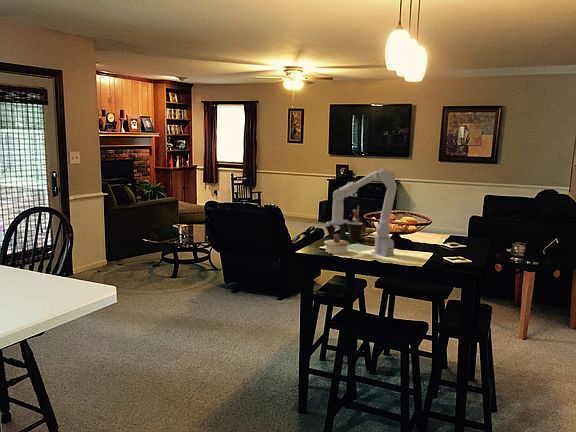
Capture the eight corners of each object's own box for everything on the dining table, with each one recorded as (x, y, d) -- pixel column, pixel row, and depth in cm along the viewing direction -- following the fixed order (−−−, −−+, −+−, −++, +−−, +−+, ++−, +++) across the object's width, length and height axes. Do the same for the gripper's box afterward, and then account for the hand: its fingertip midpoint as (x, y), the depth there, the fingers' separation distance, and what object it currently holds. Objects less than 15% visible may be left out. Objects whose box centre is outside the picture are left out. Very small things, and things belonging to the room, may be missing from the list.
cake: (366, 235, 306) (368, 206, 303) (352, 235, 305) (353, 206, 302) (361, 232, 317) (363, 204, 314) (347, 232, 315) (348, 204, 313)
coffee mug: (357, 242, 285) (358, 225, 283) (344, 240, 290) (345, 223, 289) (367, 239, 294) (368, 222, 293) (354, 237, 299) (355, 221, 298)
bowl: (351, 252, 257) (351, 244, 256) (335, 255, 250) (336, 246, 250) (336, 248, 266) (337, 240, 265) (321, 251, 259) (321, 243, 258)
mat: (377, 248, 268) (377, 248, 268) (358, 252, 259) (358, 251, 259) (357, 243, 280) (357, 243, 280) (338, 247, 270) (338, 246, 270)
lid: (354, 244, 256) (354, 235, 256) (336, 247, 248) (336, 238, 248) (337, 240, 267) (337, 231, 266) (319, 242, 259) (319, 233, 258)
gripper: (342, 211, 262) (341, 235, 265) (322, 213, 254) (321, 238, 256) (351, 212, 257) (350, 238, 259) (331, 214, 248) (330, 241, 250)
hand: (336, 238), depth 257 cm, fingers open, 7 cm apart
